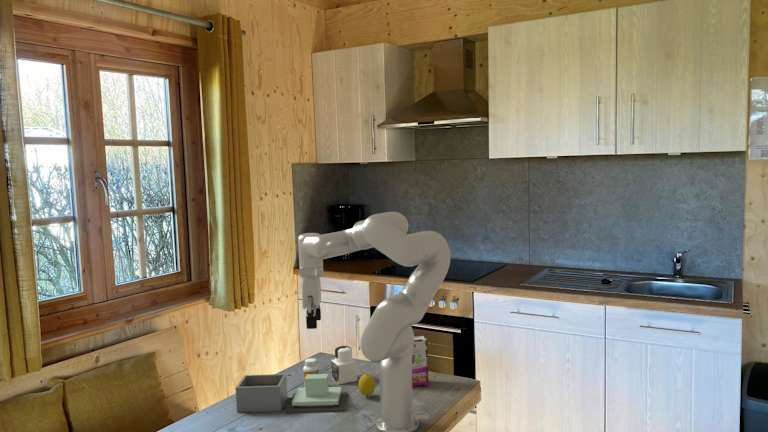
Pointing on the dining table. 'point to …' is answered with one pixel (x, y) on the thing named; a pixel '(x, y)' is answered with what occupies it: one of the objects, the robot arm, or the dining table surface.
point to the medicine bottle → (344, 366)
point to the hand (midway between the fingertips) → (314, 324)
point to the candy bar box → (419, 362)
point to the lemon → (366, 384)
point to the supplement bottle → (310, 368)
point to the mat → (318, 408)
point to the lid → (317, 392)
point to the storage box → (261, 393)
